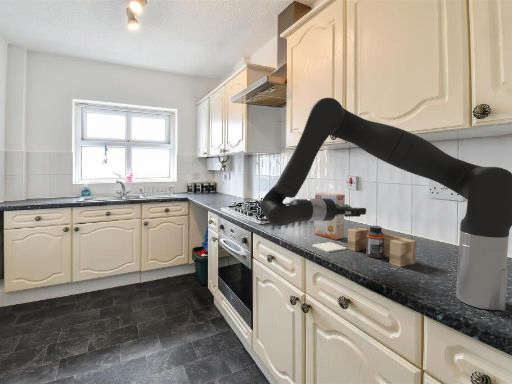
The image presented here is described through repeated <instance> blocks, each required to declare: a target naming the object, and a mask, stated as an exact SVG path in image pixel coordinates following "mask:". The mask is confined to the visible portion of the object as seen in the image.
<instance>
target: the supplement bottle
mask: <svg viewBox="0 0 512 384" xmlns="http://www.w3.org/2000/svg"><path fill="white" fill-rule="evenodd" d="M382 228H383V227H382V226H380V225H370V226H369V229H370V231H369V232H367V249H365V250H366V256H367V257H369V258H373V259H382V258H383V257H384V255H383V254H384V234H383V233H384V232H383V231H382Z"/></svg>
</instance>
